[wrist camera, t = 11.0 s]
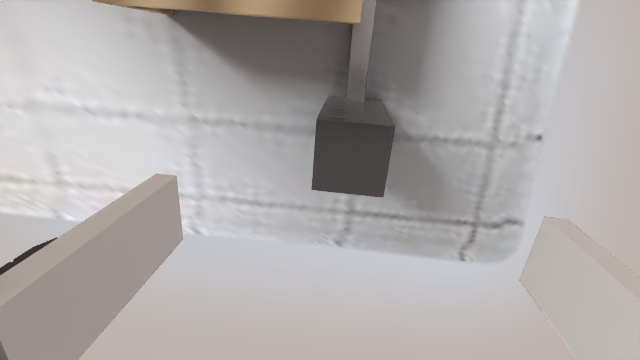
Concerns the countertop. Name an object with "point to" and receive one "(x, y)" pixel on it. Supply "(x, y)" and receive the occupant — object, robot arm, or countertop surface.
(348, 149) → the tool
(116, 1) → the shelf
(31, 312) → the robot arm
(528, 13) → the countertop surface
